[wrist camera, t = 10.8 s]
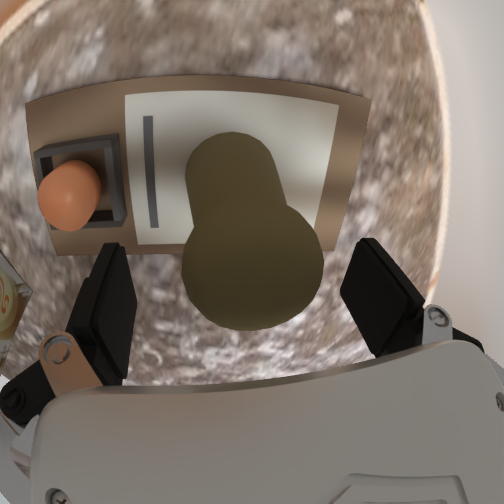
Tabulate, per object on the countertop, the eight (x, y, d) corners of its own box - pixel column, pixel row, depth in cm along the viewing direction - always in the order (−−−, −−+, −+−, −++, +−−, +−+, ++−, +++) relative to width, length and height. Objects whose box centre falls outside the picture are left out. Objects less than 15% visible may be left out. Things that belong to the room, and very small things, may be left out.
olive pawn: (222, 113, 15) (248, 174, 6) (294, 167, 18) (378, 277, 9) (167, 187, 17) (136, 319, 8) (238, 229, 20) (267, 364, 11)
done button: (106, 213, 16) (97, 230, 14) (58, 217, 15) (46, 232, 14) (98, 156, 14) (85, 167, 12) (47, 163, 13) (31, 175, 11)
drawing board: (328, 243, 24) (340, 262, 22) (61, 247, 20) (50, 267, 17) (363, 97, 16) (384, 103, 14) (33, 100, 12) (12, 107, 10)
